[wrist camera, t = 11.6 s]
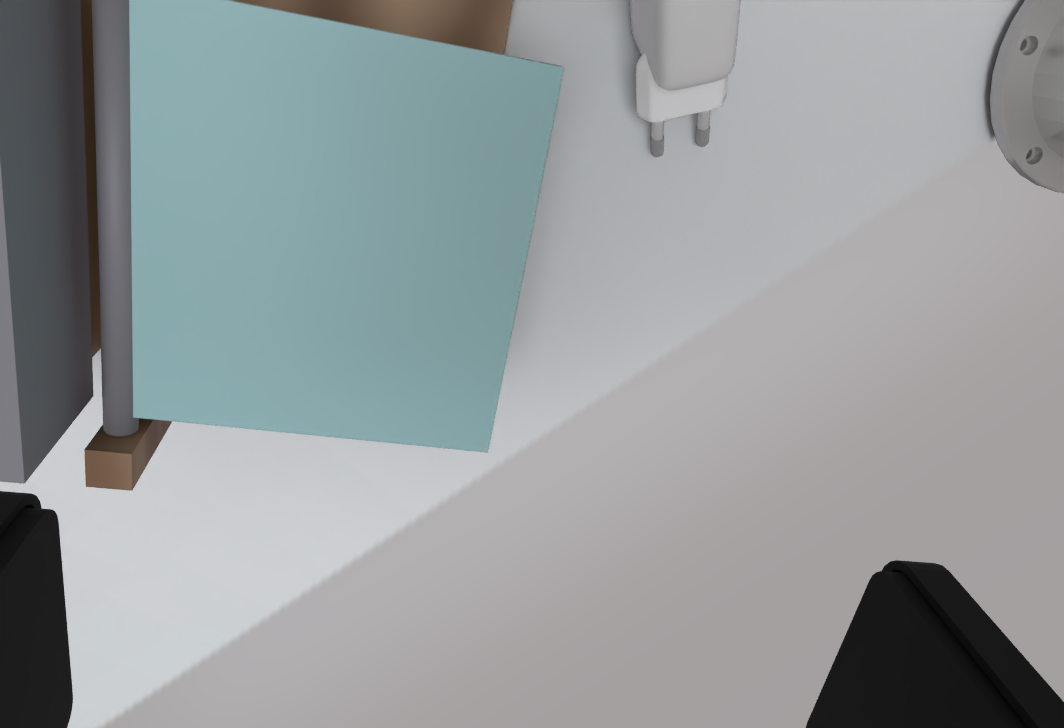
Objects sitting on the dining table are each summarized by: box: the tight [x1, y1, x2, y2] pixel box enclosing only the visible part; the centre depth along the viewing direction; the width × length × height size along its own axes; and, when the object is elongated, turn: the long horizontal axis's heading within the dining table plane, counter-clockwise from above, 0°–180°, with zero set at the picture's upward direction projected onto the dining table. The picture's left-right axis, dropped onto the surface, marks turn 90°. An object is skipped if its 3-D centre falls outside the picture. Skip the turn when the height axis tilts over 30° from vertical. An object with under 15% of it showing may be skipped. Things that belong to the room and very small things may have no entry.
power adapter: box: [630, 0, 741, 157], centre depth 35 cm, size 10×4×5 cm, turn 11°
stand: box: [80, 0, 513, 490], centre depth 30 cm, size 18×20×16 cm
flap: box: [0, 0, 564, 483], centre depth 26 cm, size 18×16×6 cm
